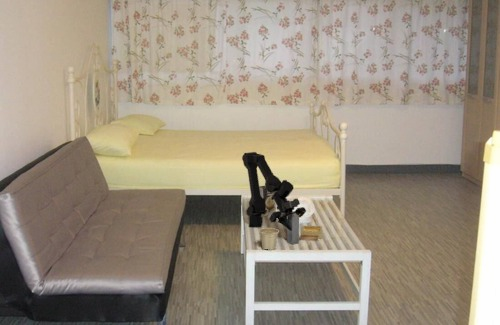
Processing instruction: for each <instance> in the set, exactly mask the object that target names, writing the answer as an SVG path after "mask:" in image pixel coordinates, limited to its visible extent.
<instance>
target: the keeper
mask: <svg viewBox="0 0 500 325" xmlns="http://www.w3.org/2000/svg"><path fill="white" fill-rule="evenodd" d="M301 226H302V227H301V237H318V240H322V239H323V226H322V225H301Z"/></svg>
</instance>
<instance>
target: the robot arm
mask: <svg viewBox="0 0 500 325" xmlns="http://www.w3.org/2000/svg"><path fill="white" fill-rule="evenodd" d="M241 159H242V163H243V166H244V167H245V169H247V175H248V182H249V189H250V195H251V196H250V199H249V202H248V207H247V209H246V210H245V214H246V215H247V216H249V219H248V220H249V222H248V228H262V226H263V223H264V220H263V218H264V216H262V214H265V209H266V204H265V199H264V198H262V197H261V195H260V188H259V186H260V181H259V175H258V170H259V172H260V173H261V175H262V177H263V179H264V180H265V182H264V186H266V189H267V191H268V192H270V193H272V192H275V193H274V194H272V198H271V200H275V202H276V212H273V213H272V214H271V215H269V221H270V223H271V224H272V223H276V222H277V223H278V224H281V225H282V226H284V227H285V228H286V229H289V230H290V231H291V230H292V228H291V226H290V224H289V222H288V215H289V214H297V215H299V219H300V218H302V217H303V216H304V215H305V214H306V213H307V210H306V208H305V207H303V206H302V207H301V206H300V207H298V206H299V205H300V200H299V199H298V198H294V199H293V200H288V199H287V198H288V197H289V196H290V194H291V193H292V192H293V190H294V185H293V184H292V183H291V182H290V181H288V180H287V179H283V180H280V179H279V177H278V176H276V175H274V173H273V171H272V169H271V168H270V165H269V164H268V162H267V161H266V156H265V155H264V154H261V153H257V152H256V151H251V152H250V151H249V152H243V155H242V157H241ZM295 208H296V209H295ZM278 210H279V211H278Z"/></svg>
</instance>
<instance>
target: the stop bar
mask: <svg viewBox="0 0 500 325" xmlns="http://www.w3.org/2000/svg"><path fill="white" fill-rule="evenodd" d="M287 219H288V222H289V224H290V226H291V228H292V230H291V231H290V230H289V229H287V228H286V229H287V231H286V232H287V235H286V236H287V241H286V242H287V244H290V245H292V246H293V245H297V244H300V242H299V241H300V240H299V237H300V218H299V215H297V214H289V215H288V216H287Z"/></svg>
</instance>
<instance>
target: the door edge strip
mask: <svg viewBox="0 0 500 325" xmlns="http://www.w3.org/2000/svg"><path fill="white" fill-rule="evenodd" d="M284 240H287V235H285V237H284ZM299 241H316V242H317V241H319V239H318V237H302V236H299Z"/></svg>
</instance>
